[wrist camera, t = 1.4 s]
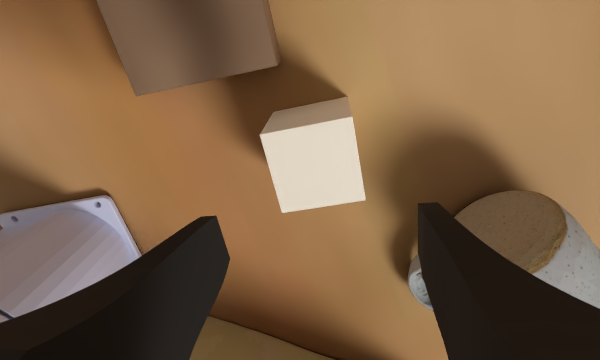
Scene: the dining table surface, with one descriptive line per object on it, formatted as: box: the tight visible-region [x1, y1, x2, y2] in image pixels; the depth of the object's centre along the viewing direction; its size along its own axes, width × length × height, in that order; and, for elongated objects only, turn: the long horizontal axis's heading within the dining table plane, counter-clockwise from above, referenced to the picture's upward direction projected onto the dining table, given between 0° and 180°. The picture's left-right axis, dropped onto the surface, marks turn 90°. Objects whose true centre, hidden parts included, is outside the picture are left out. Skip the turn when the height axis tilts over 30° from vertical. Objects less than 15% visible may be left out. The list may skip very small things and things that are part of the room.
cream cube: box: [260, 97, 366, 213], centre depth 19 cm, size 4×4×4 cm
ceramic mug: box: [408, 190, 600, 311], centre depth 20 cm, size 11×8×8 cm
